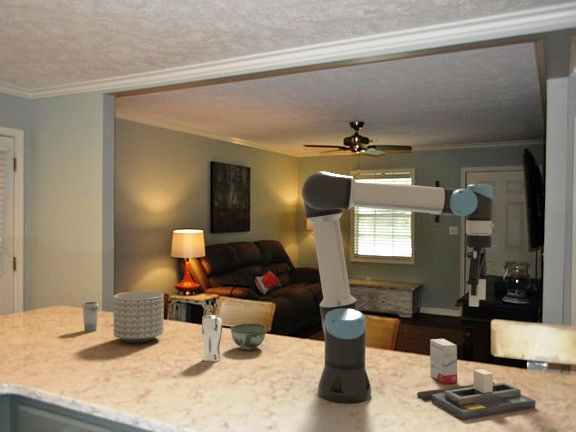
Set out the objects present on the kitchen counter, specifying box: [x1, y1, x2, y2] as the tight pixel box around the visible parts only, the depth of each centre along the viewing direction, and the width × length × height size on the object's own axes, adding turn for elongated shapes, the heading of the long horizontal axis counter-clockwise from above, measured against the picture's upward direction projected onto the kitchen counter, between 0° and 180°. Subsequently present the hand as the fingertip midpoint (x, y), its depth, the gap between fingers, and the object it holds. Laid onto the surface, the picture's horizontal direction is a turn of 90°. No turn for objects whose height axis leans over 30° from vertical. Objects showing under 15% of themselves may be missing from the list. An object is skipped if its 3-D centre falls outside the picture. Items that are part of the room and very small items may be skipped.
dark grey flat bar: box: [416, 381, 496, 401], centre depth 150 cm, size 27×4×1 cm, turn 111°
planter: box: [113, 290, 165, 344], centre depth 204 cm, size 19×19×18 cm
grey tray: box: [430, 382, 536, 421], centre depth 141 cm, size 24×13×4 cm, turn 111°
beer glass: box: [201, 314, 223, 363], centre depth 180 cm, size 7×7×15 cm
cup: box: [81, 300, 100, 333], centre depth 219 cm, size 7×7×12 cm
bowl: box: [229, 323, 267, 352], centre depth 194 cm, size 14×13×8 cm
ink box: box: [429, 338, 458, 385], centre depth 161 cm, size 9×5×12 cm, turn 13°
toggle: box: [473, 368, 494, 395], centre depth 141 cm, size 4×4×7 cm
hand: (477, 302), depth 160 cm, fingers open, 13 cm apart
